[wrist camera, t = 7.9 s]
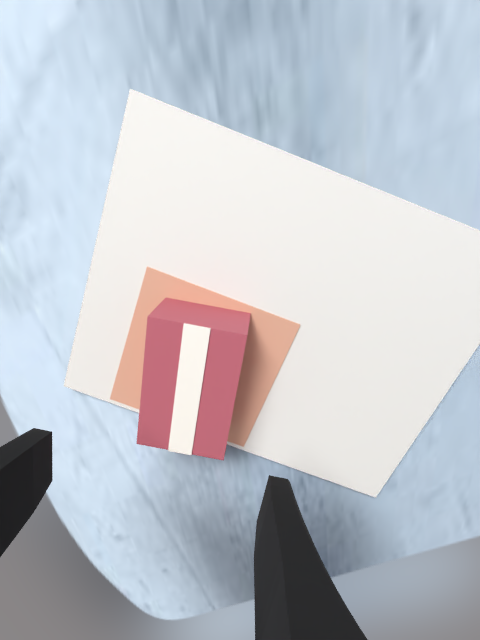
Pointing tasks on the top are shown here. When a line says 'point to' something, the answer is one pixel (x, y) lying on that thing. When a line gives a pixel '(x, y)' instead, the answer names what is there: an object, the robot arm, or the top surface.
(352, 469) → the mat
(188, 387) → the card box
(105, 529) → the top surface
